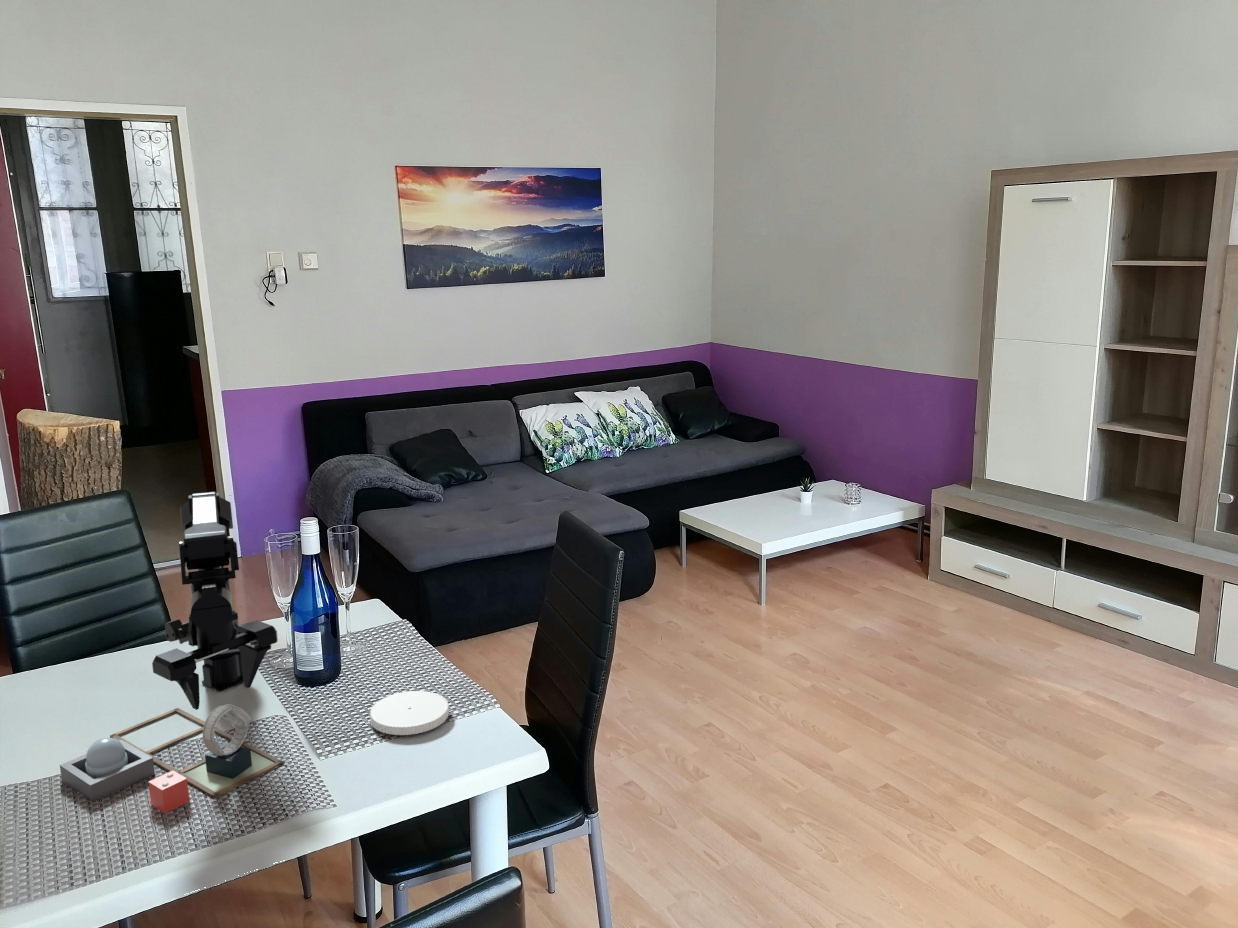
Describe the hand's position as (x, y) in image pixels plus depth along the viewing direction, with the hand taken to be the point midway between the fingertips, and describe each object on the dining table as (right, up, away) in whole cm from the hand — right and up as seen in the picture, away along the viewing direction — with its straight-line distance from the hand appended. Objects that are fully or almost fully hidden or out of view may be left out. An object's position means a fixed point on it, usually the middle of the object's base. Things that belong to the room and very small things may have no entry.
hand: (222, 697), depth 155 cm
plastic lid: (+26, -9, +20) cm, 34 cm away
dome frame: (-19, -13, 0) cm, 23 cm away
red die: (-5, -15, -7) cm, 17 cm away
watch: (0, -13, +3) cm, 13 cm away
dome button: (-19, -12, 0) cm, 22 cm away
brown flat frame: (-9, -11, +9) cm, 17 cm away
